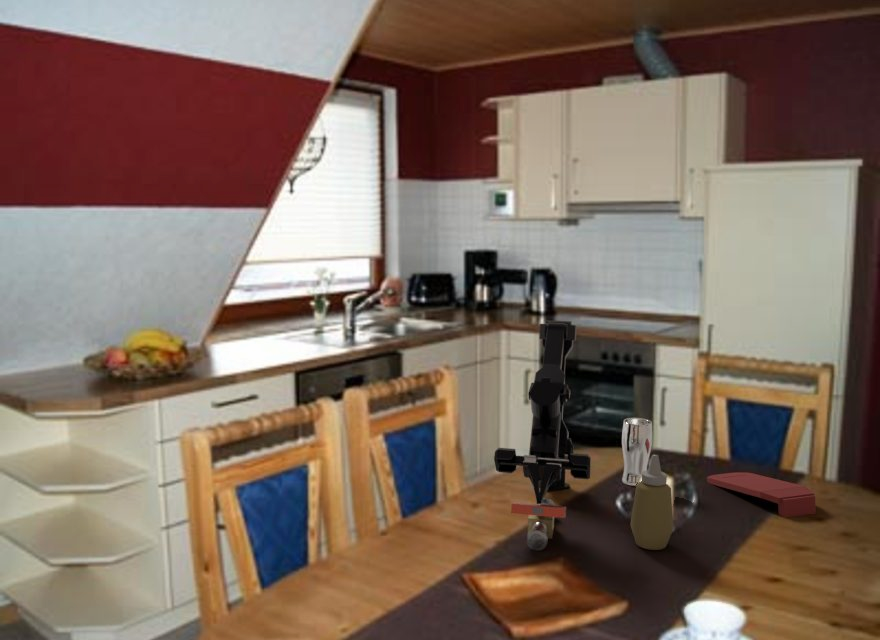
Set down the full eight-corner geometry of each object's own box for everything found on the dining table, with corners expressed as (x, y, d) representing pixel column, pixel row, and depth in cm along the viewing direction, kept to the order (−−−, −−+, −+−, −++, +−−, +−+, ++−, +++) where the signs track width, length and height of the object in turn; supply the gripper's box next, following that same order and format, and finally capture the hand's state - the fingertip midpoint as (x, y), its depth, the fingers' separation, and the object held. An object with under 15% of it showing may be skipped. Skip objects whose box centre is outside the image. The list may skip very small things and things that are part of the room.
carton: (704, 496, 193) (777, 519, 169) (703, 476, 193) (776, 496, 169) (745, 491, 197) (823, 512, 173) (744, 471, 197) (822, 490, 173)
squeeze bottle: (662, 557, 150) (667, 465, 147) (622, 545, 155) (626, 456, 152) (678, 543, 156) (683, 454, 154) (639, 532, 161) (643, 446, 159)
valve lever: (517, 501, 162) (511, 503, 152) (567, 505, 160) (564, 508, 150) (517, 510, 162) (510, 513, 151) (566, 515, 160) (564, 518, 149)
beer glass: (647, 477, 194) (650, 418, 192) (652, 487, 187) (655, 425, 185) (618, 476, 195) (620, 417, 193) (621, 486, 188) (624, 424, 186)
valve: (533, 514, 170) (534, 496, 170) (556, 516, 169) (556, 498, 168) (524, 549, 153) (524, 529, 152) (549, 551, 152) (549, 531, 151)
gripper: (591, 454, 166) (588, 524, 157) (503, 447, 170) (494, 516, 161) (592, 427, 158) (588, 500, 148) (498, 421, 162) (489, 491, 152)
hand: (538, 503), depth 153 cm, fingers closed
